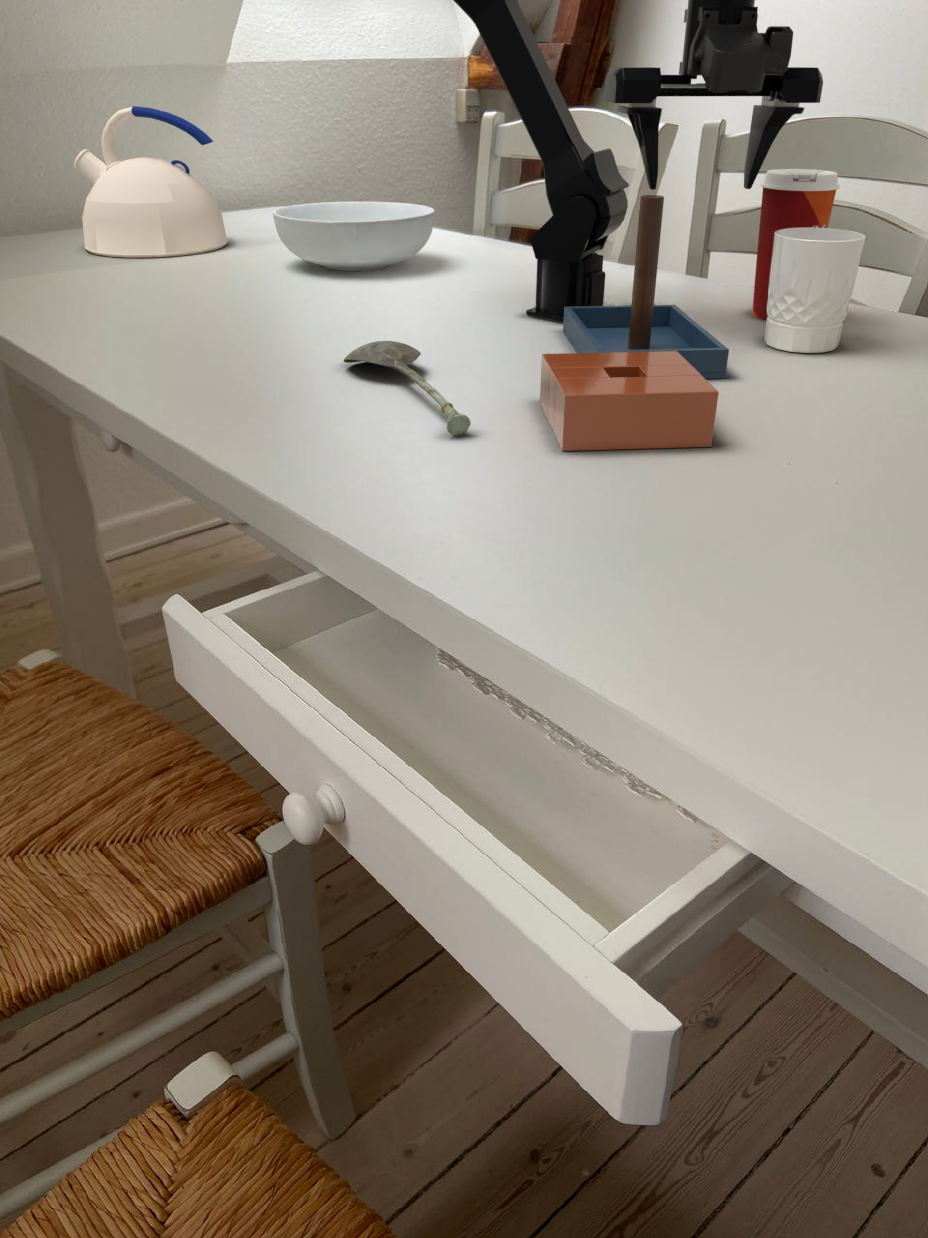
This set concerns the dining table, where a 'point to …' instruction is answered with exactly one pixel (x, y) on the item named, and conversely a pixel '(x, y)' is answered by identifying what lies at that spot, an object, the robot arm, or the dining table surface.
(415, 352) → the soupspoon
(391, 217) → the serving bowl
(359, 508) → the dining table surface
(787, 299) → the white cup
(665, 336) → the tray
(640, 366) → the stick holder base
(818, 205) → the paper cup
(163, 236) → the kettle
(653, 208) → the walnut stick
